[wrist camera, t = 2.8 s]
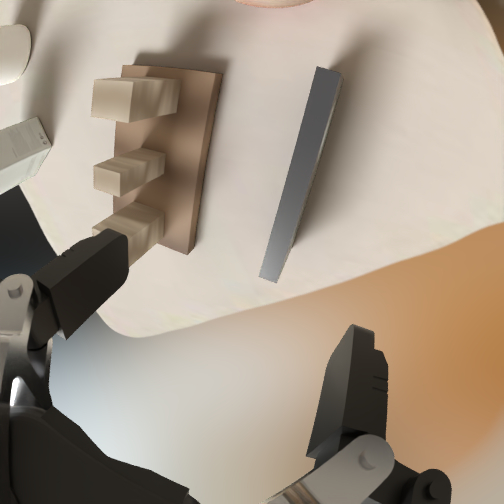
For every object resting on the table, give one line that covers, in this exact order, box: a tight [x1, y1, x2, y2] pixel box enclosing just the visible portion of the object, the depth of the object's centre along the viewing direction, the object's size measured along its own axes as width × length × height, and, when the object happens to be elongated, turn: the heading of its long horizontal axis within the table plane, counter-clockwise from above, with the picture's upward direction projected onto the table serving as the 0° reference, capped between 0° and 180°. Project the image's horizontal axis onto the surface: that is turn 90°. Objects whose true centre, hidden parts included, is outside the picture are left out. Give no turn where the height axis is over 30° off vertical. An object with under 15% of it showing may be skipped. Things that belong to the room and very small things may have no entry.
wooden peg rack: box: [91, 65, 223, 267], centre depth 25 cm, size 18×10×8 cm, turn 167°
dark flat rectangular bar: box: [259, 66, 343, 283], centre depth 22 cm, size 16×2×6 cm, turn 167°
